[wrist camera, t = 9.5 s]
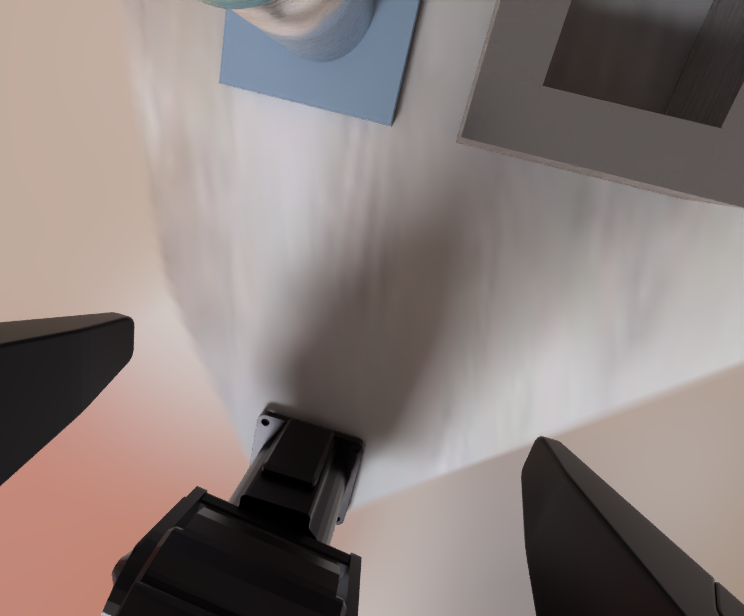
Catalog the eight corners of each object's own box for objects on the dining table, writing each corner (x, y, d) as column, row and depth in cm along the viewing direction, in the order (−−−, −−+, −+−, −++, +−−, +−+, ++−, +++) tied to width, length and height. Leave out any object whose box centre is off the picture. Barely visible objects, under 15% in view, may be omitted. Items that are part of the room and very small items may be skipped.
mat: (391, 126, 19) (390, 125, 19) (225, 84, 20) (219, 82, 19) (442, -94, 16) (442, -103, 16) (246, -136, 17) (240, -146, 16)
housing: (680, 198, 18) (751, 209, 14) (456, 142, 19) (460, 137, 15) (819, -87, 15) (968, -184, 11) (538, -144, 15) (574, -257, 11)
